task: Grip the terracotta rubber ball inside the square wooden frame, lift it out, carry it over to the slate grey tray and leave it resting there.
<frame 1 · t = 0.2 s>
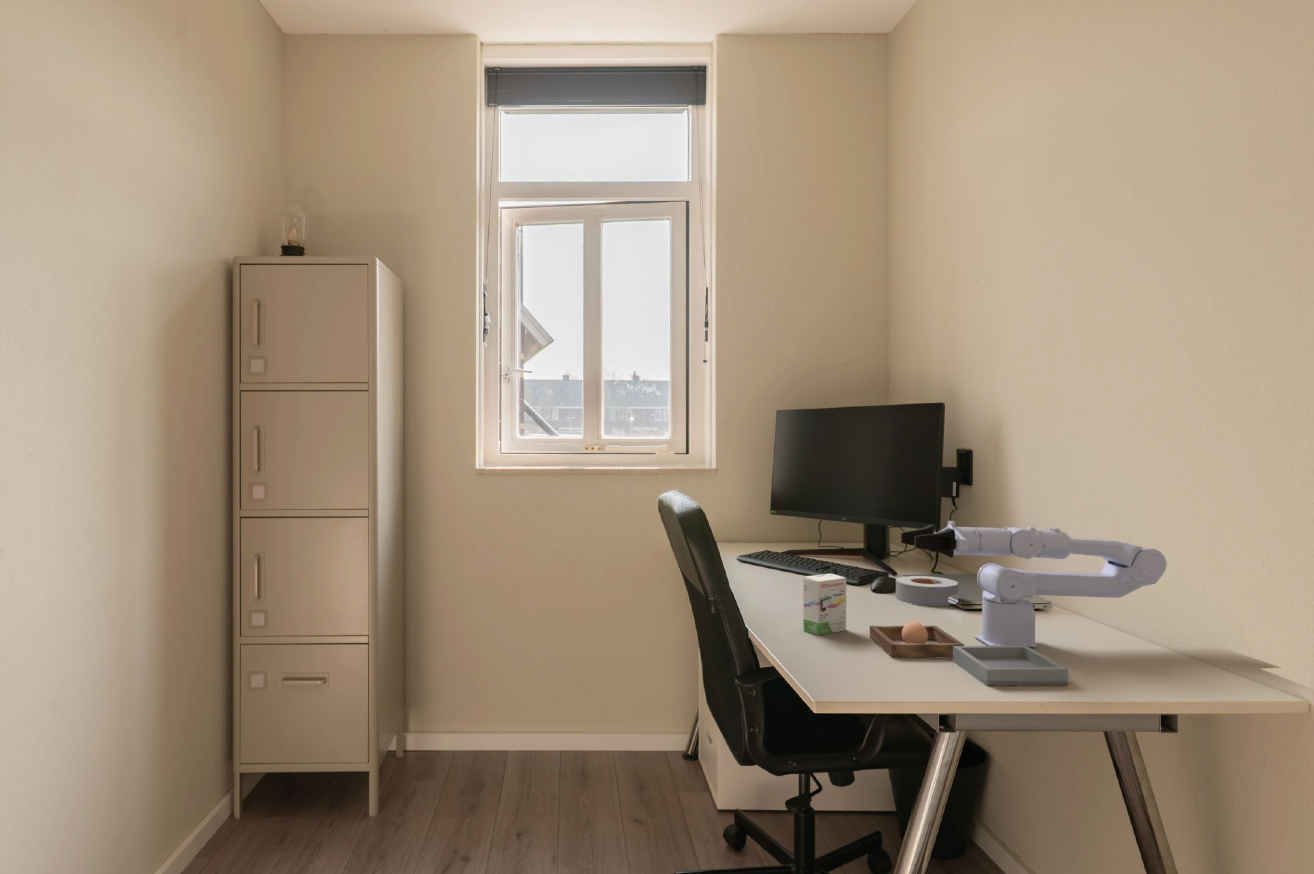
hand: (908, 539, 153), 21 cm above the table, tool horizontal, fingers open, 7 cm apart
tape roll: (926, 601, 194), on the table
ball: (914, 634, 151), point 2 cm above the table
square wooden frame: (914, 647, 151), on the table
tray: (1007, 672, 135), on the table
ink box: (824, 631, 163), on the table
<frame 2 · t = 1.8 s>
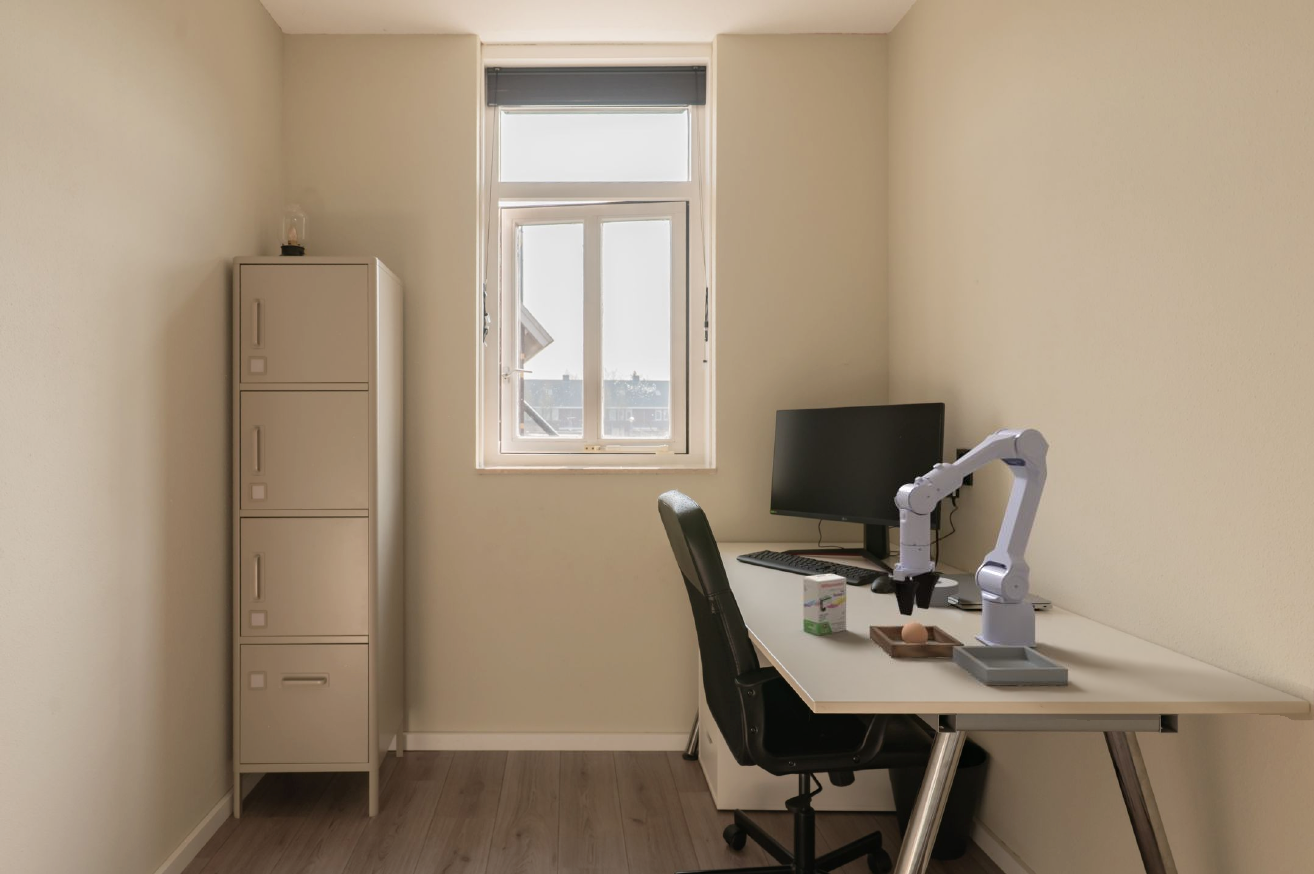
hand: (914, 611, 151), 7 cm above the table, tool pointing down, fingers open, 7 cm apart
nothing on the table moved.
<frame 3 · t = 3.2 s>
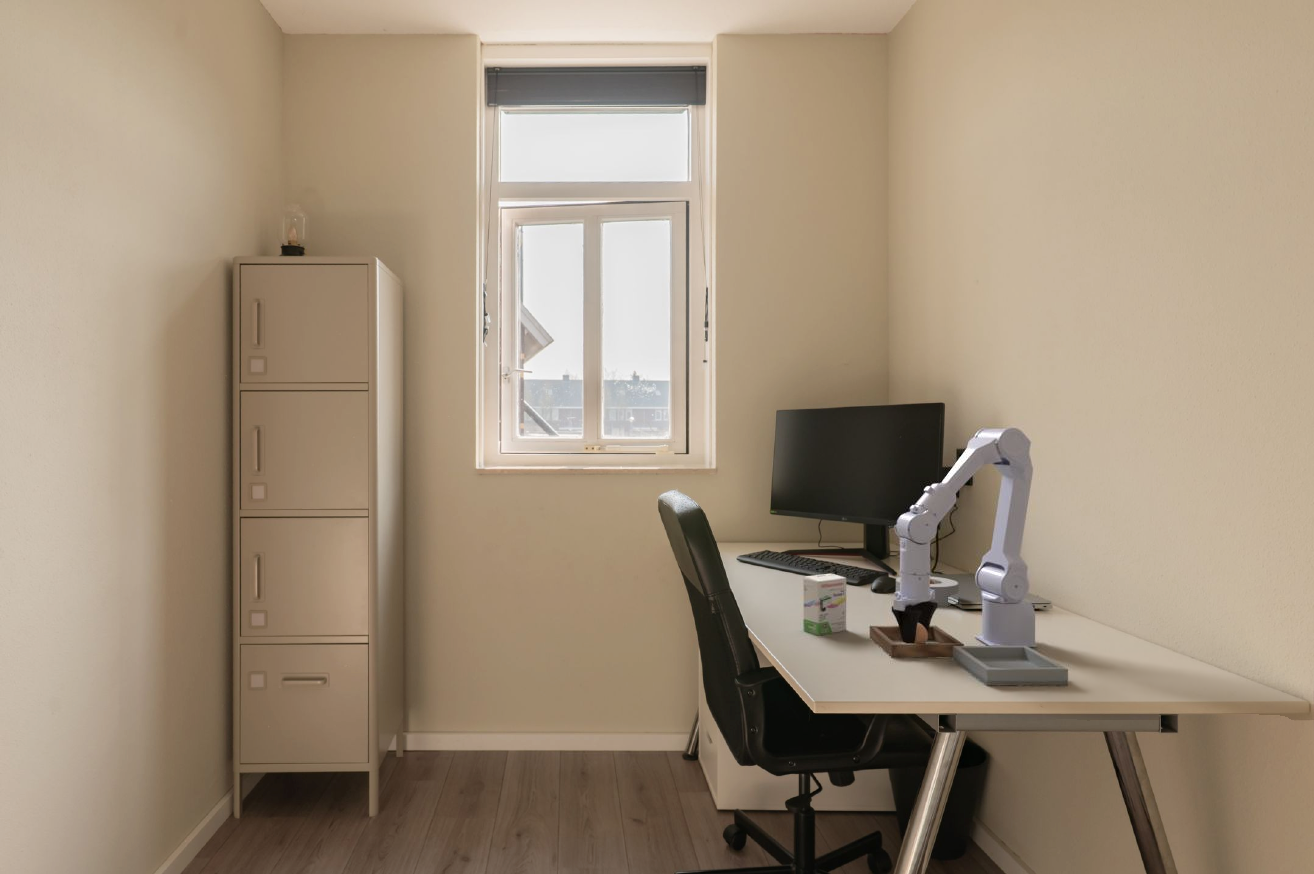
hand: (914, 640, 151), 1 cm above the table, tool pointing down, fingers closed on ball, 5 cm apart
ball: (914, 634, 151), point 2 cm above the table, touching gripper
everything else where it was.
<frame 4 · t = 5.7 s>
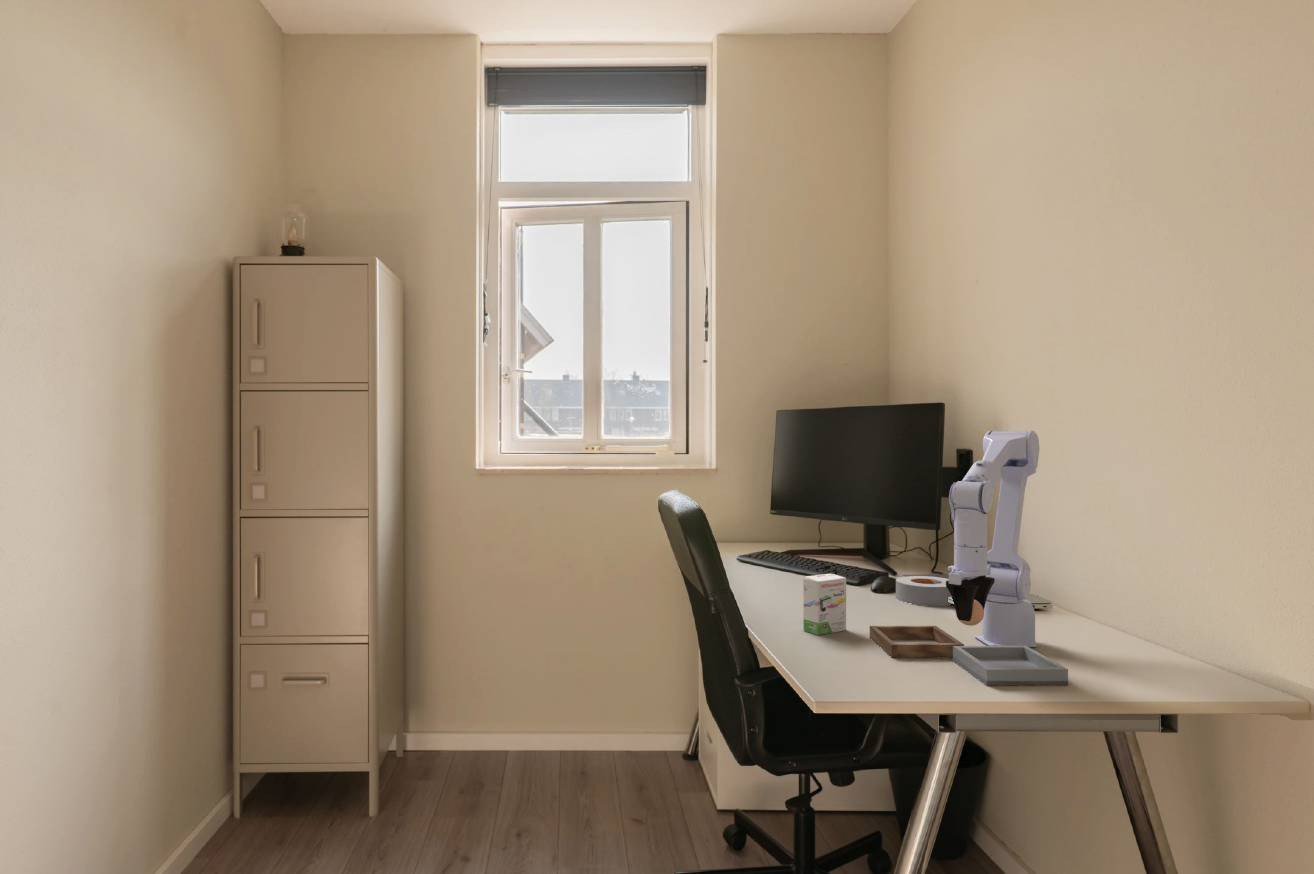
hand: (970, 617, 141), 8 cm above the table, tool pointing down, fingers closed on ball, 5 cm apart
ball: (969, 611, 141), point 9 cm above the table, touching gripper
everything else where it was.
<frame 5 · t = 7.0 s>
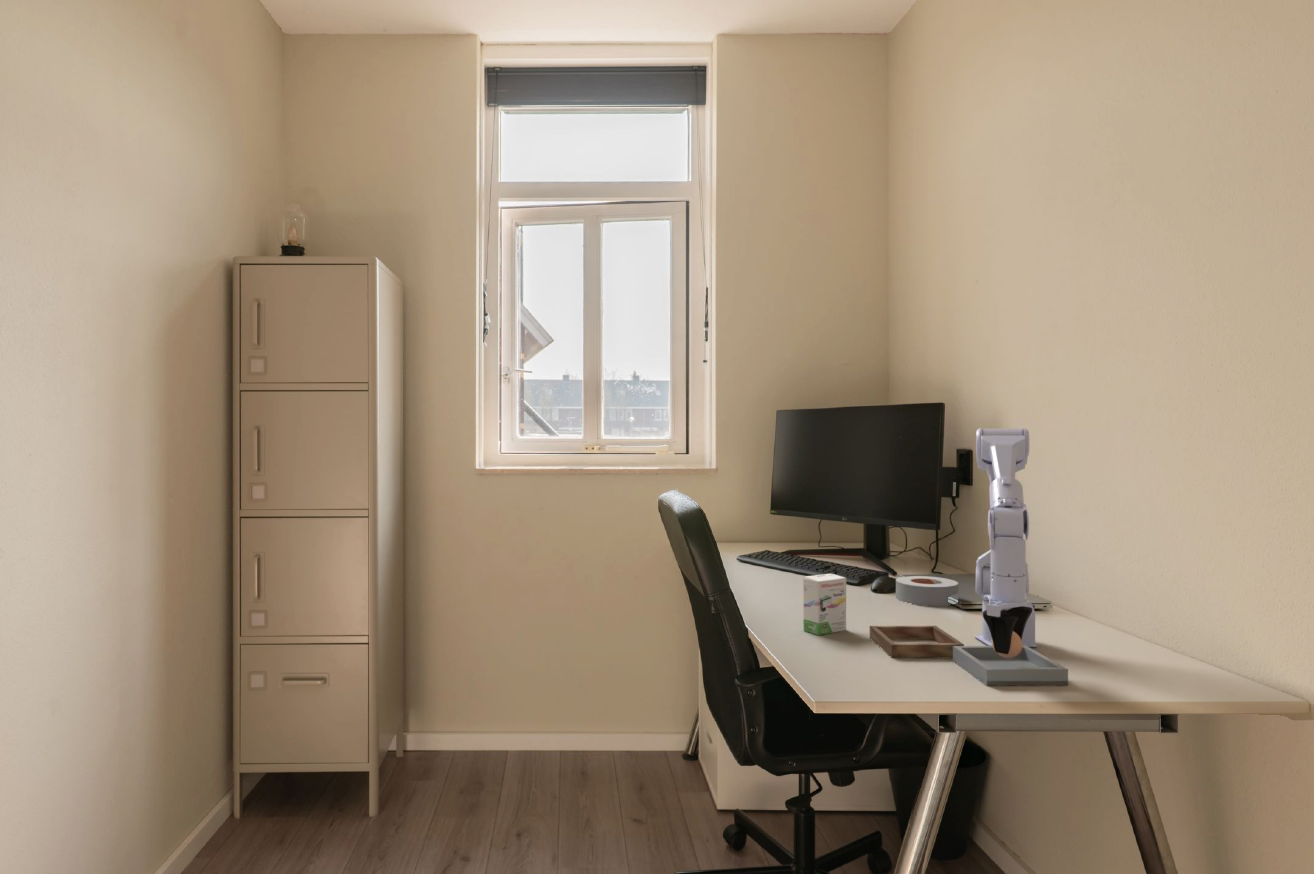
hand: (1007, 649, 135), 4 cm above the table, tool pointing down, fingers closed on ball, 5 cm apart
ball: (1006, 643, 135), point 5 cm above the table, touching gripper
everything else where it was.
when the fingers open (4 cm above the table, at t = 8.0 s): ball drops 1 cm, resting on tray.
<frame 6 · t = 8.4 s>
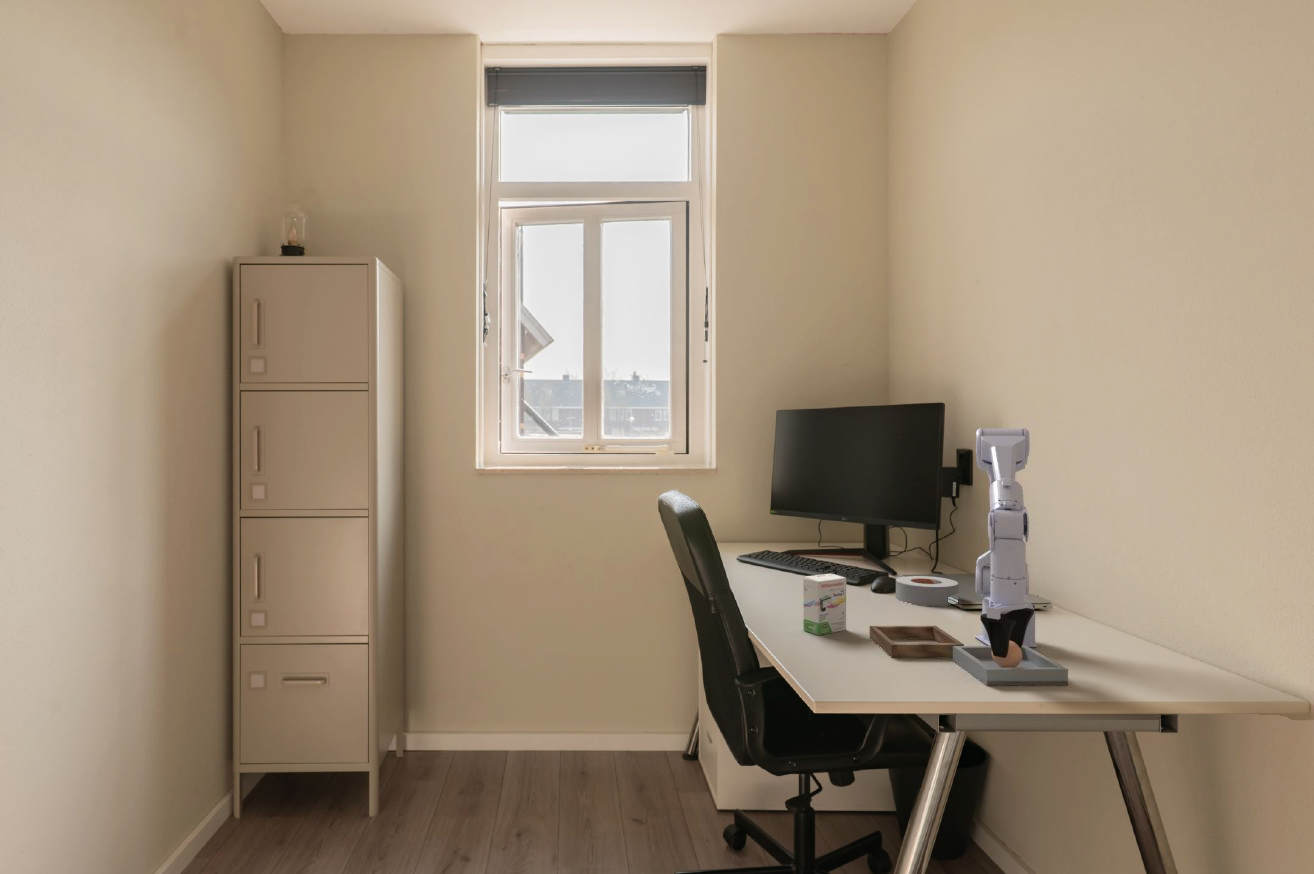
hand: (1007, 651, 135), 4 cm above the table, tool pointing down, fingers open, 7 cm apart
ball: (1006, 653, 135), point 3 cm above the table, touching tray
everything else where it was.
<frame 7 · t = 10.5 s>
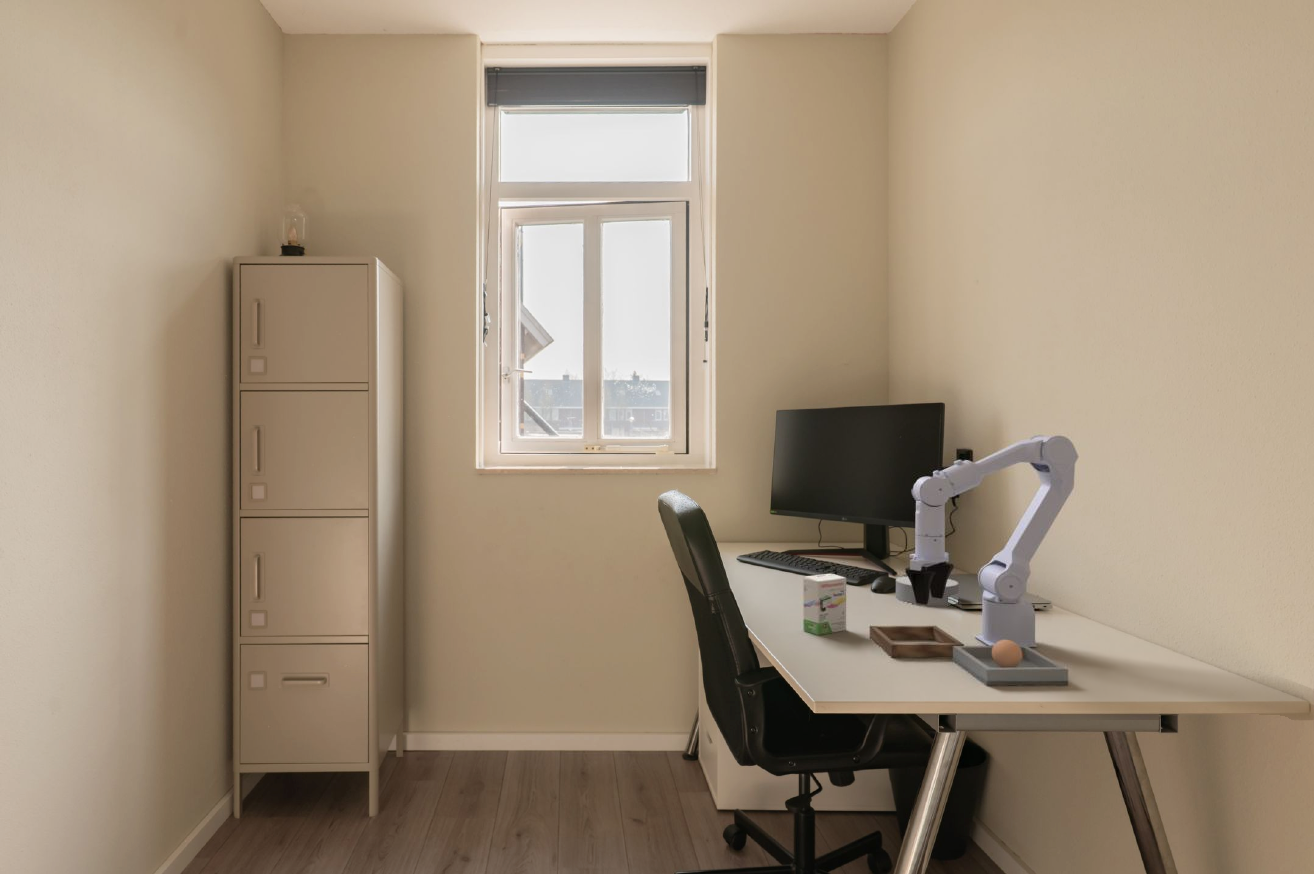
hand: (929, 600, 155), 8 cm above the table, tool pointing down, fingers open, 7 cm apart
nothing on the table moved.
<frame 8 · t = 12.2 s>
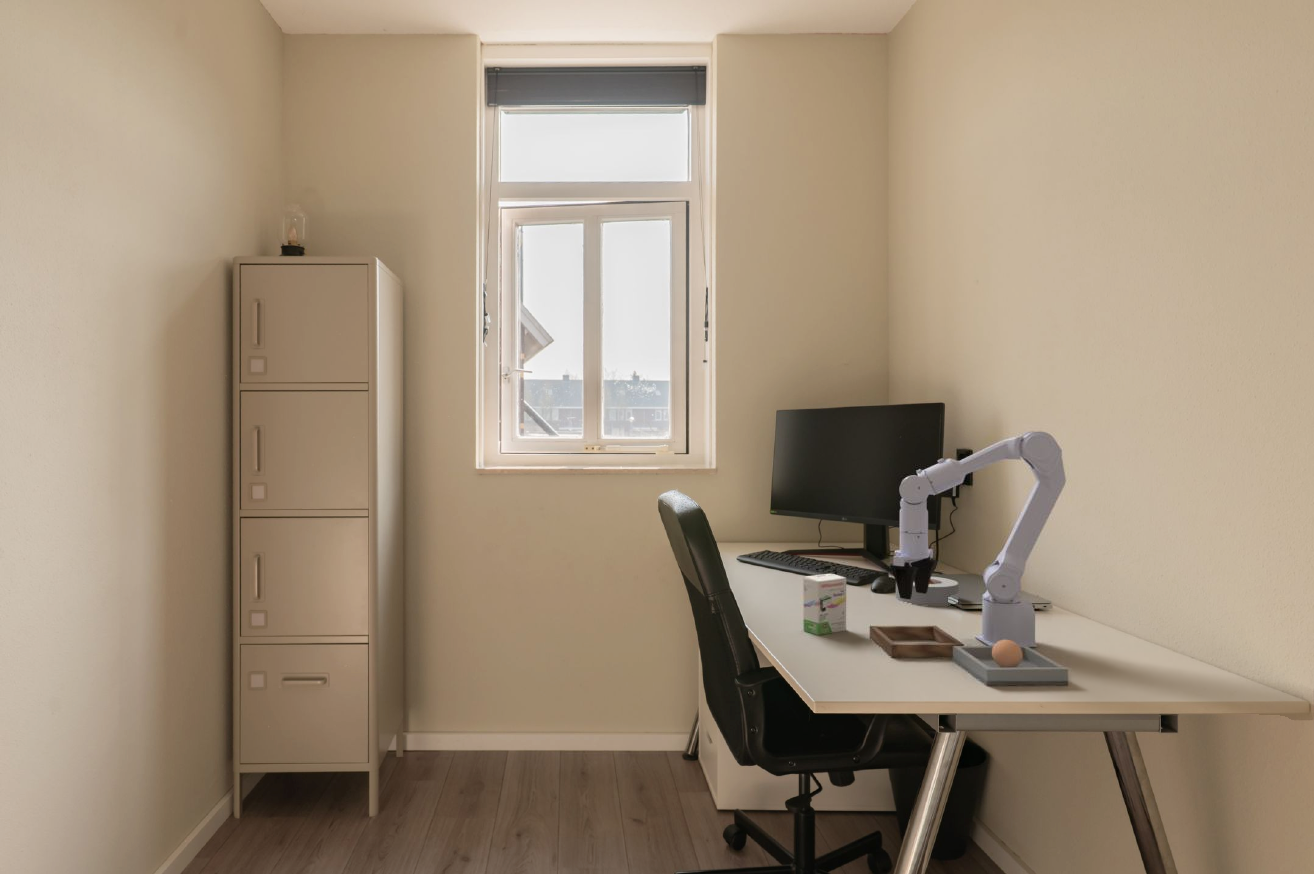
hand: (913, 595, 160), 8 cm above the table, tool pointing down, fingers open, 7 cm apart
nothing on the table moved.
at the end: ball inside the target area on the tray (0.1 cm from its centre), point 3.3 cm above the tray's base; the gripper is holding nothing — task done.
